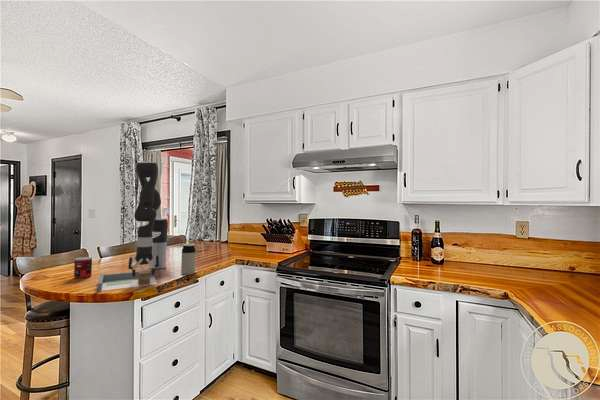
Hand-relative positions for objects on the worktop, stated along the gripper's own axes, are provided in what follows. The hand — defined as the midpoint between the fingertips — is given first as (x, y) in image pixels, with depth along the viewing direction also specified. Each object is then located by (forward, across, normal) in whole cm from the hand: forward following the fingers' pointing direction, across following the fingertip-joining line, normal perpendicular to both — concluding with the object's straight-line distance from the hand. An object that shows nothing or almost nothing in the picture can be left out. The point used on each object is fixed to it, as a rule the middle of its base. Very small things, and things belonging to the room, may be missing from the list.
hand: (143, 275), depth 152 cm
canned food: (+4, +29, -31) cm, 43 cm away
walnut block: (+4, 0, 0) cm, 4 cm away
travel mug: (+4, -25, -13) cm, 29 cm away
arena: (+4, +7, -4) cm, 9 cm away
